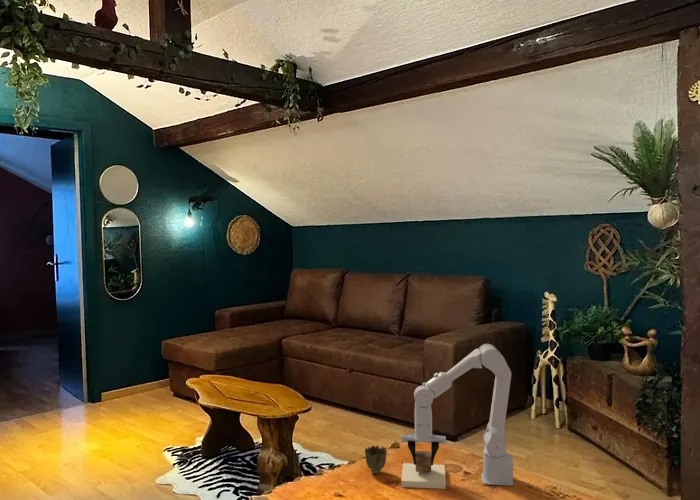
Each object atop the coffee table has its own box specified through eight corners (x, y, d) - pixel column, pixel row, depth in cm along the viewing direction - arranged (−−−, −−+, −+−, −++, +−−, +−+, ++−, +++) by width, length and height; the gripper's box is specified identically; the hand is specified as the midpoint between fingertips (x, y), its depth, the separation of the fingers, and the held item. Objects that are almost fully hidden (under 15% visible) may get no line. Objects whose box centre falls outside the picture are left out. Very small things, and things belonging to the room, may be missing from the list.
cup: (361, 474, 203) (360, 451, 203) (370, 466, 210) (370, 444, 209) (381, 479, 200) (381, 455, 199) (390, 470, 206) (390, 447, 206)
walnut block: (431, 466, 202) (431, 451, 202) (431, 472, 197) (431, 457, 197) (416, 465, 203) (415, 450, 202) (415, 471, 198) (415, 456, 197)
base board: (444, 470, 206) (444, 464, 206) (445, 488, 192) (445, 482, 192) (403, 468, 207) (403, 463, 207) (401, 486, 194) (401, 480, 193)
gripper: (445, 419, 202) (445, 459, 202) (401, 418, 204) (401, 458, 204) (445, 427, 195) (446, 468, 195) (400, 425, 197) (401, 466, 197)
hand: (423, 463), depth 199 cm, fingers closed on walnut block, 5 cm apart
